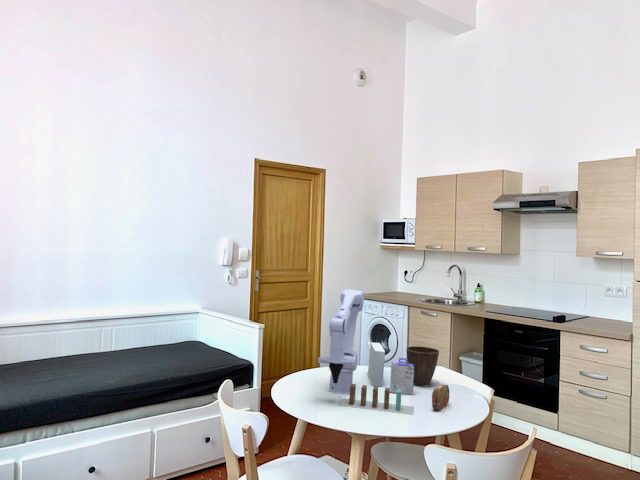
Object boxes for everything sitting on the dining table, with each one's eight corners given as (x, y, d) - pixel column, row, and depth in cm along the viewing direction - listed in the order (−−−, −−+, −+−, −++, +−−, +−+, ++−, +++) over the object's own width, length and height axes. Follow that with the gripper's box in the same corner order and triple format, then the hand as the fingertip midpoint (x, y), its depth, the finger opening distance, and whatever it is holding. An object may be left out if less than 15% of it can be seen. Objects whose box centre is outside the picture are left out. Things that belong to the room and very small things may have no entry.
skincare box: (383, 387, 220) (385, 351, 221) (371, 386, 220) (373, 350, 221) (378, 374, 241) (380, 342, 242) (367, 374, 242) (369, 341, 242)
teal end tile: (395, 410, 188) (396, 391, 188) (396, 406, 192) (397, 388, 192) (399, 410, 188) (400, 392, 188) (400, 407, 192) (401, 389, 192)
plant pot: (399, 379, 234) (401, 346, 234) (428, 379, 237) (430, 346, 237) (412, 389, 219) (414, 353, 219) (443, 388, 223) (445, 353, 223)
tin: (437, 413, 188) (438, 391, 188) (429, 411, 190) (430, 389, 190) (449, 403, 201) (450, 383, 201) (442, 402, 203) (443, 381, 203)
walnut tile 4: (383, 408, 189) (384, 390, 189) (384, 405, 193) (385, 387, 193) (387, 409, 189) (388, 391, 189) (388, 405, 193) (389, 387, 193)
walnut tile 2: (360, 405, 191) (361, 387, 191) (362, 402, 195) (362, 384, 195) (364, 406, 191) (365, 388, 191) (366, 403, 195) (366, 385, 195)
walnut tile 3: (372, 407, 190) (372, 389, 190) (373, 403, 194) (374, 386, 194) (376, 407, 190) (377, 389, 190) (377, 404, 194) (378, 386, 194)
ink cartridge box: (413, 391, 215) (414, 358, 215) (412, 395, 210) (414, 361, 210) (390, 389, 217) (392, 356, 217) (389, 392, 212) (391, 359, 212)
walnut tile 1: (349, 404, 192) (349, 386, 192) (350, 401, 196) (351, 383, 196) (353, 405, 192) (354, 387, 192) (354, 401, 196) (355, 384, 196)
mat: (337, 406, 190) (337, 405, 190) (341, 398, 200) (341, 397, 200) (413, 415, 184) (413, 414, 184) (414, 407, 194) (414, 406, 194)
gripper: (317, 348, 193) (315, 383, 193) (353, 352, 190) (351, 387, 190) (321, 345, 200) (319, 378, 200) (356, 348, 197) (354, 382, 197)
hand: (335, 382), depth 196 cm, fingers closed
